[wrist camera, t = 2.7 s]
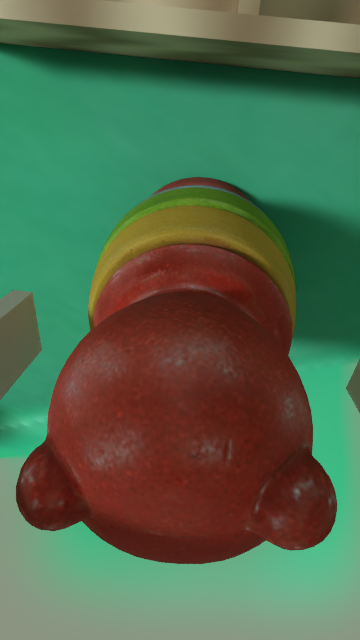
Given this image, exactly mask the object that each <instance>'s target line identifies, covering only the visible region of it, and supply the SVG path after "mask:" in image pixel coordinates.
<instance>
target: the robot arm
mask: <svg viewBox="0 0 360 640" xmlns="http://www.w3.org/2000/svg"><path fill="white" fill-rule="evenodd" d="M41 350H42V349H41V343H40V337H39V330H38V324H37V318H36V312H35V306H34V300H33V294H32V292H25V291H17V290H13V291H11V292H10V293H8V294H7V295H6V296H4V297H3V298H2V299H0V400H1V399H2V397H3V396H4V395H5V394H6V393H7V391H8V390H9V389H10V388H11V386H12V385H13V384H14V383H15V382H16V380H17V379H18V378H19V377H20V376H21V374H22V373H23V372H24V371H25V369H26V368H27V367H28V366H29V365H30V363H31V362H32V361H33V360H34V359H35V357H36V356H37V355H38V354H39V353H40V351H41ZM346 389H347V391H348V393H349V395H350V396H351V398H352V400H353V402H354V403H355V405H356V407H357V408H358V411H359V412H360V360H359V362H358V364H357V366H356V368H355V370H354V373H353V375H352V377H351V379H350V381H349V383H348V385H347V387H346Z"/></svg>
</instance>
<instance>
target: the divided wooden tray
mask: <svg viewBox="0 0 360 640" xmlns="http://www.w3.org/2000/svg"><path fill="white" fill-rule="evenodd" d="M0 43H5V44H15V45H26V46H36V47H46V48H56V49H66V50H77V51H87V52H97V53H107V54H117V55H128V56H138V57H148V58H158V59H168V60H179V61H189V62H199V63H209V64H219V65H230V66H240V67H250V68H260V69H270V70H281V71H291V72H301V73H311V74H321V75H331V76H342V77H352V78H360V0H0Z"/></svg>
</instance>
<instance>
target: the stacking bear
mask: <svg viewBox="0 0 360 640" xmlns="http://www.w3.org/2000/svg"><path fill="white" fill-rule="evenodd" d="M88 317H89V325H90V330H91V331H90V332H89V333H88V334H87V335H86V336H85V337H84V338H83V339H82V340H81V341H80V342H79V344H78V345H77V347H76V348H75V349H74V351H73V352H72V354H71V355H70V356H69V358H68V360H67V361H66V363H65V365H64V367H63V368H62V370H61V372H60V375H59V377H58V379H57V382H56V385H55V388H54V391H53V395H52V399H51V403H50V407H49V412H48V428H47V437H46V440H45V441H44V442H43V444H42V445H40V446H39V447H37V448H36V449H35V450H34V451H33V452H32V453H31V454H30V455H29V457H28V458H27V460H26V461H25V463H24V465H23V466H22V468H21V471H20V475H19V478H18V482H17V485H16V501H17V504H18V507H19V510H20V512H21V514H22V515H23V517H24V518H25V520H26V521H27V522H29V523H30V524H31V525H32V526H34V527H36V528H38V529H41V530H50V531H56V530H60V529H64V528H67V527H69V526H71V525H74V524H76V523H78V522H80V521H83V523H84V524H85V525H86V526H87V527H88V528H89V529H90V530H91V531H92V532H94V533H95V534H96V535H97V536H99V537H100V538H101V539H102V540H104V541H106V542H107V543H109V544H110V545H112V546H114V547H116V548H118V549H119V550H122V551H124V552H126V553H129V554H131V555H134V556H136V557H140V558H144V559H148V560H153V561H158V562H165V563H177V564H204V563H211V562H217V561H223V560H226V559H229V558H232V557H236V556H238V555H240V554H242V553H245V552H247V551H249V550H250V549H252V548H254V547H256V546H258V545H260V544H261V543H262V542H264V541H265V540H267V541H269V542H270V543H272V544H274V545H276V546H279V547H281V548H283V549H287V550H304V549H307V548H310V547H314V546H315V545H317V544H319V543H320V542H322V541H323V540H324V539H325V538H326V537H327V535H328V534H329V533H330V532H331V530H332V527H333V525H334V522H335V517H336V512H337V500H336V494H335V490H334V487H333V485H332V482H331V480H330V478H329V476H328V475H327V474H326V472H325V470H324V469H323V467H322V466H321V465H320V463H319V462H318V461H317V460H316V459H314V457H313V456H312V443H313V424H312V416H311V409H310V406H309V402H308V397H307V394H306V391H305V389H304V386H303V384H302V381H301V379H300V376H299V374H298V372H297V370H296V369H295V367H294V365H293V363H292V362H291V360H290V358H289V356H288V354H289V351H290V347H291V342H292V338H293V333H294V328H295V320H296V281H295V273H294V268H293V263H292V260H291V257H290V254H289V251H288V248H287V246H286V243H285V241H284V239H283V237H282V236H281V234H280V232H279V231H278V229H277V228H276V227H275V225H274V224H273V223H272V222H271V220H270V219H269V218H268V217H267V216H266V215H265V214H264V213H263V212H262V211H261V210H260V209H259V208H258V207H257V206H256V205H254V204H253V203H252V202H251V201H250V200H249V199H248V198H247V197H246V196H245V195H244V194H243V193H242V192H241V191H239V190H238V189H236V188H235V187H233V186H231V185H230V184H228V183H225V182H223V181H220V180H216V179H212V178H203V177H193V178H186V179H181V180H178V181H175V182H172V183H170V184H168V185H166V186H164V187H162V188H161V189H159V190H158V191H157V192H155V193H154V194H153V195H152V196H150V197H148V198H147V199H145V200H143V201H142V202H140V203H139V204H138V205H136V206H135V207H134V208H133V209H132V210H131V211H130V212H128V213H127V214H126V215H125V216H124V217H123V219H122V220H121V221H120V222H119V223H118V224H117V226H116V227H115V228H114V230H113V231H112V233H111V235H110V236H109V238H108V240H107V241H106V243H105V245H104V248H103V250H102V252H101V254H100V257H99V260H98V263H97V267H96V271H95V275H94V278H93V282H92V286H91V291H90V297H89V311H88Z"/></svg>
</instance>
